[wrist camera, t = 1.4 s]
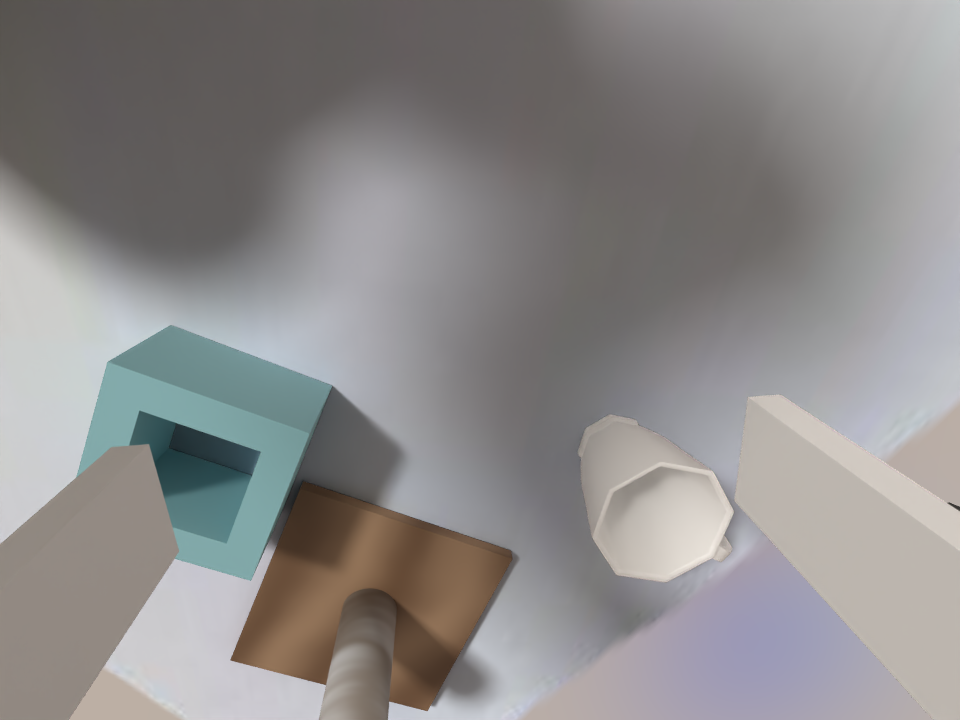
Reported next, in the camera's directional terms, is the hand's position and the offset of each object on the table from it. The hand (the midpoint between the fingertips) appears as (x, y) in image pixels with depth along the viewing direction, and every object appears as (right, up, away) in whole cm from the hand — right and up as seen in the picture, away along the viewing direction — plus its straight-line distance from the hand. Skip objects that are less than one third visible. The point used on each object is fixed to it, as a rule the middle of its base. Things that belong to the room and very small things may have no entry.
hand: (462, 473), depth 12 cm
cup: (+10, -3, +22) cm, 24 cm away
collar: (-14, -1, +19) cm, 24 cm away
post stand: (-7, -13, +24) cm, 28 cm away
